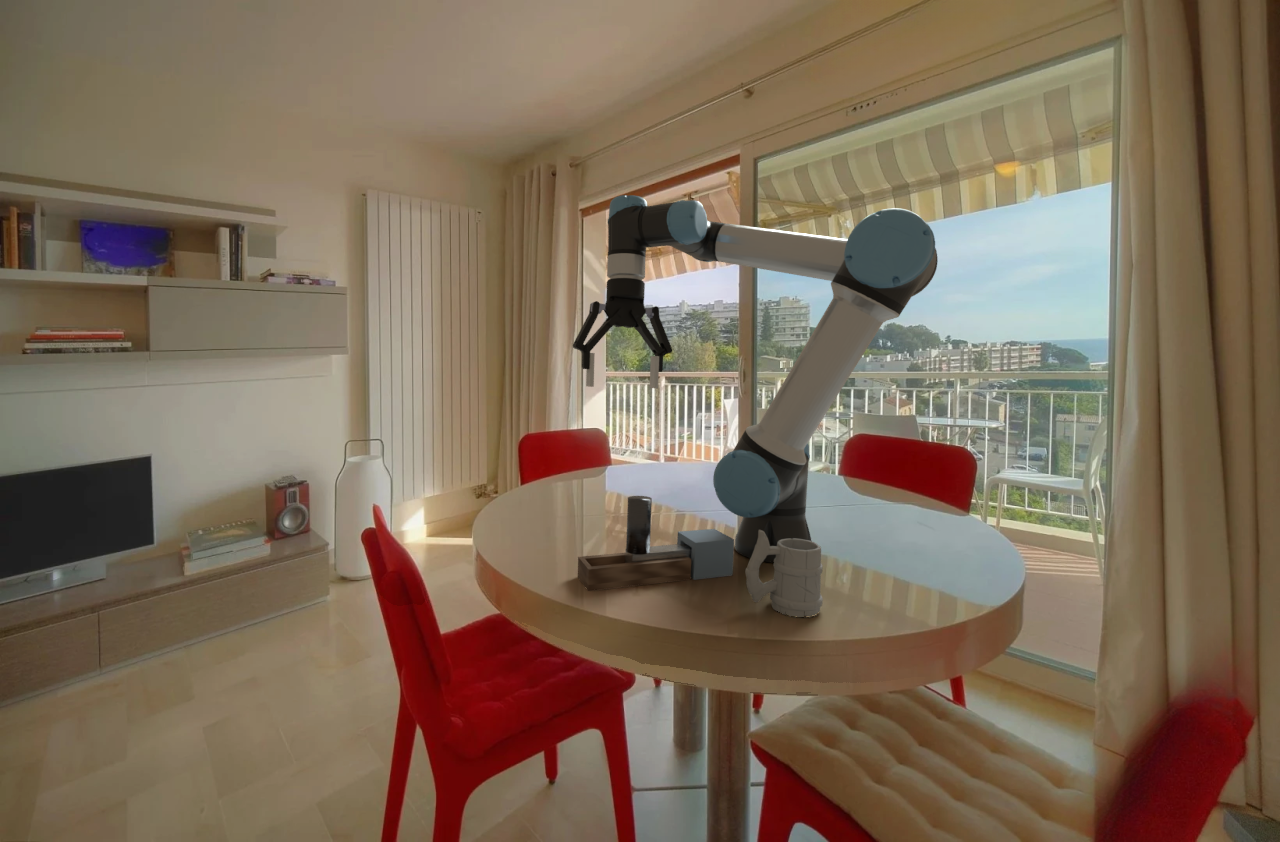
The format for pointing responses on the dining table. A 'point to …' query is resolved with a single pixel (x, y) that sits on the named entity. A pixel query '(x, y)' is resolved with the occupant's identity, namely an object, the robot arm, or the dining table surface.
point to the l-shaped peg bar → (647, 535)
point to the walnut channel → (629, 571)
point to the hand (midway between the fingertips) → (622, 387)
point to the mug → (788, 575)
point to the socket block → (709, 553)
